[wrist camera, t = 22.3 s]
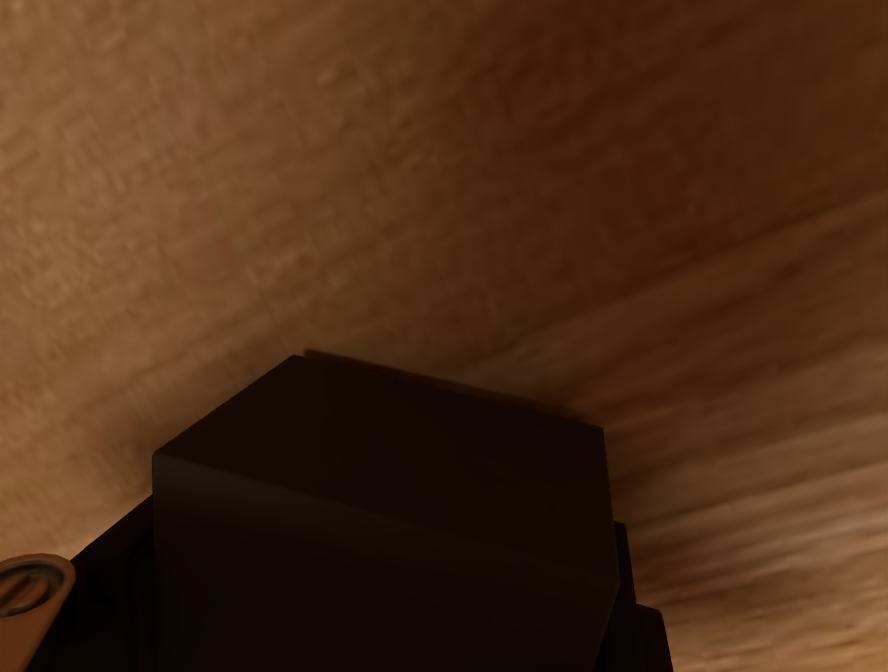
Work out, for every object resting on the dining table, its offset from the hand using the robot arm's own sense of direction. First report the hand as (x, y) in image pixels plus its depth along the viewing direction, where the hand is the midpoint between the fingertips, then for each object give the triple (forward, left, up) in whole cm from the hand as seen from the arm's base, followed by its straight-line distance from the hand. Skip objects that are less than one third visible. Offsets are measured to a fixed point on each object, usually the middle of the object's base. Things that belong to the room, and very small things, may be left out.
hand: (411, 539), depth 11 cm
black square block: (0, 0, -1) cm, 1 cm away
